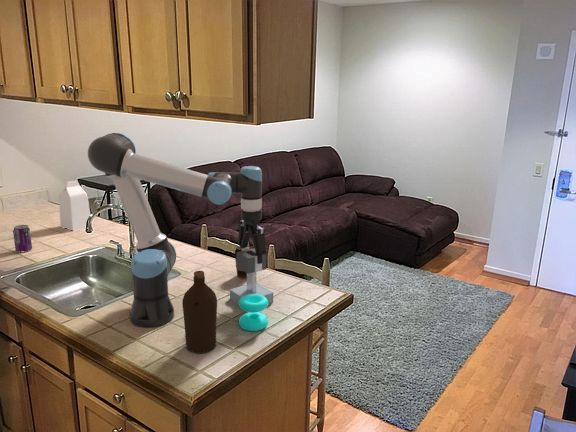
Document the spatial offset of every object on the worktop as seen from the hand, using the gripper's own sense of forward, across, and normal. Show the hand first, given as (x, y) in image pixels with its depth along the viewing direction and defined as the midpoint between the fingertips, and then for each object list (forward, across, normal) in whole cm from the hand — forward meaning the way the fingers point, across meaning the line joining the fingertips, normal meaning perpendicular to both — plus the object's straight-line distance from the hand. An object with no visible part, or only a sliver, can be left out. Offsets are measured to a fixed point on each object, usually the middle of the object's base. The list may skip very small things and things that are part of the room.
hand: (251, 267), depth 182 cm
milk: (+13, +135, +28) cm, 139 cm away
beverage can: (+13, +109, +59) cm, 125 cm away
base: (+14, 0, 0) cm, 14 cm away
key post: (+10, 0, 0) cm, 10 cm away
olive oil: (+14, -18, +31) cm, 38 cm away
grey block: (0, 0, 0) cm, 0 cm away
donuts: (+14, -16, +10) cm, 24 cm away
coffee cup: (+14, +22, -11) cm, 28 cm away
